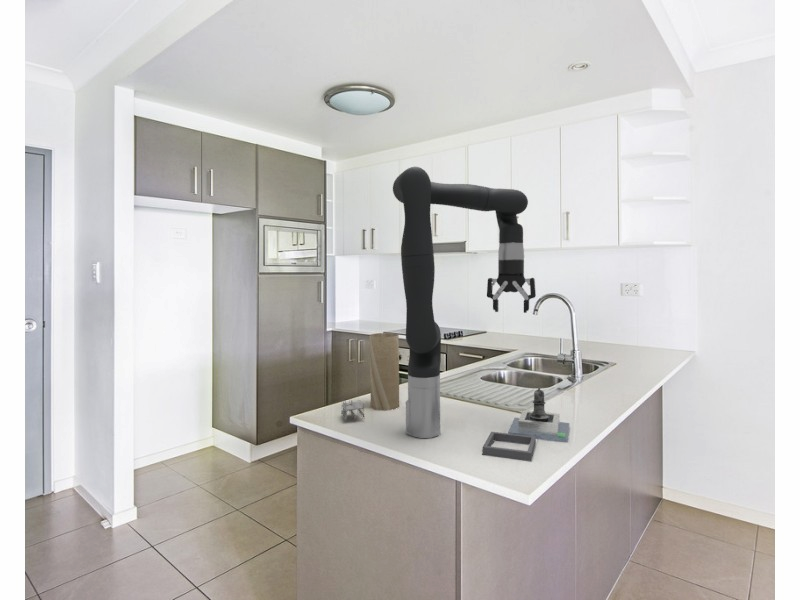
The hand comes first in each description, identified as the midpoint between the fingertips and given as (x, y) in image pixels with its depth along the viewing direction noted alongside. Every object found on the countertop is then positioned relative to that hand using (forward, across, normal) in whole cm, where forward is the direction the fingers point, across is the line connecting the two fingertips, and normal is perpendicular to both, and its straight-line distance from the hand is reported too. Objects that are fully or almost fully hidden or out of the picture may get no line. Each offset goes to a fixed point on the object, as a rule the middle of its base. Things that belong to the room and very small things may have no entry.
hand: (510, 312), depth 142 cm
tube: (+34, -44, +3) cm, 55 cm away
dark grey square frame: (+34, +3, -22) cm, 41 cm away
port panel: (+34, +9, -5) cm, 36 cm away
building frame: (+34, -48, -13) cm, 60 cm away
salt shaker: (+33, +9, -5) cm, 35 cm away
